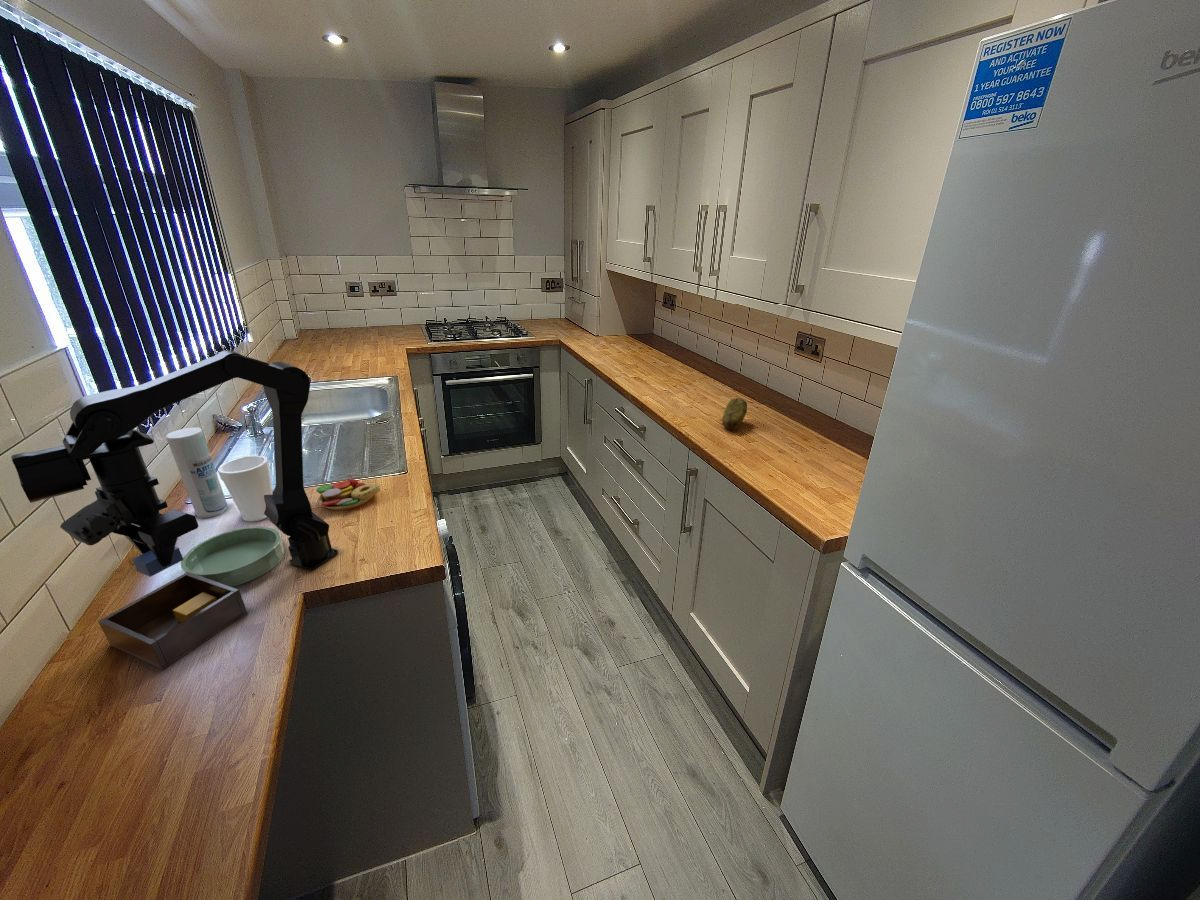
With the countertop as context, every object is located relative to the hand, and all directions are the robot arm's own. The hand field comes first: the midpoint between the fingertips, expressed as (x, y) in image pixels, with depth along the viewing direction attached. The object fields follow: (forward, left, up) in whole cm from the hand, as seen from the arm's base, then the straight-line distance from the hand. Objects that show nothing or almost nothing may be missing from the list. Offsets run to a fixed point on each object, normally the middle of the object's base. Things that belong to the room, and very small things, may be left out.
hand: (159, 562), depth 86 cm
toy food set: (-42, -6, -11) cm, 44 cm away
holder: (+2, +3, -11) cm, 12 cm away
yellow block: (-1, +3, -11) cm, 11 cm away
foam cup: (-29, -20, -11) cm, 37 cm away
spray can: (-26, -32, -11) cm, 43 cm away
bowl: (-14, -6, -11) cm, 19 cm away
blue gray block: (0, 0, -1) cm, 1 cm away
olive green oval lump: (-125, +73, -11) cm, 145 cm away
